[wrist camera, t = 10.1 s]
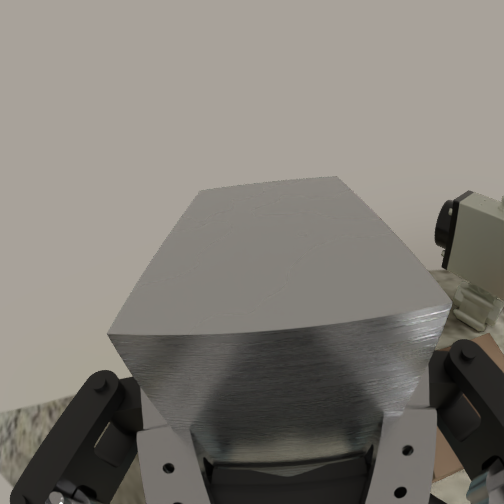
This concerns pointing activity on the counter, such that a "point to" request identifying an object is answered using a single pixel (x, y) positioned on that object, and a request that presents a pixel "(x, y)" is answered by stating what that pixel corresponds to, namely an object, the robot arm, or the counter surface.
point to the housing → (280, 324)
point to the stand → (444, 454)
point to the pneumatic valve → (474, 255)
